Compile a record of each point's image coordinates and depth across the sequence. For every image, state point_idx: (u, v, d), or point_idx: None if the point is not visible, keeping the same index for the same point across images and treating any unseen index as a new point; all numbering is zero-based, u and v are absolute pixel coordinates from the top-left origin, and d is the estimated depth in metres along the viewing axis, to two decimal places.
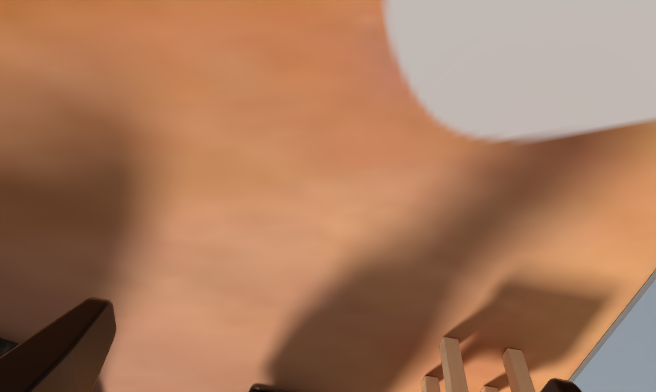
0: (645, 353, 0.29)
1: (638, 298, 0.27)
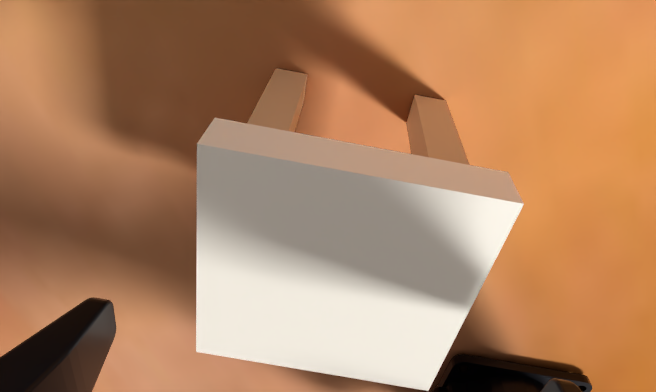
0: None
1: None
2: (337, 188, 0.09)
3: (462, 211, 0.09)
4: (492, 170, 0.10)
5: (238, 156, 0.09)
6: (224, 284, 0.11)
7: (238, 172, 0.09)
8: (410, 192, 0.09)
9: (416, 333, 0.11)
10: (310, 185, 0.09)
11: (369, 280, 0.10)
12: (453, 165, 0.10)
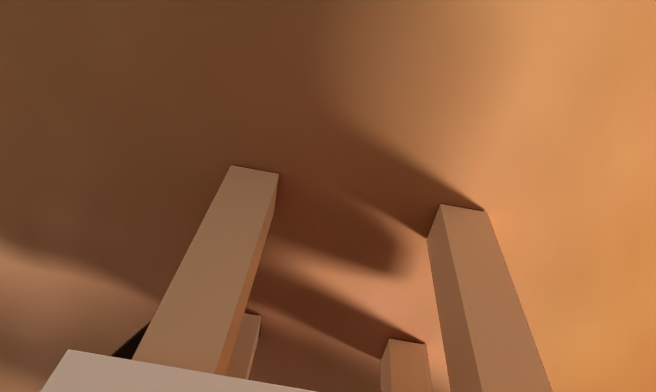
0: None
1: None
2: None
3: None
4: None
5: None
6: None
7: None
8: None
9: None
10: None
11: None
12: None
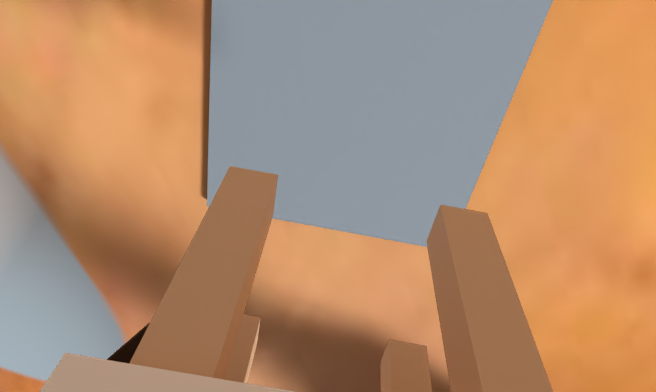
0: (362, 184, 0.21)
1: None
2: None
3: None
4: None
5: None
6: None
7: None
8: None
9: None
10: None
11: None
12: None
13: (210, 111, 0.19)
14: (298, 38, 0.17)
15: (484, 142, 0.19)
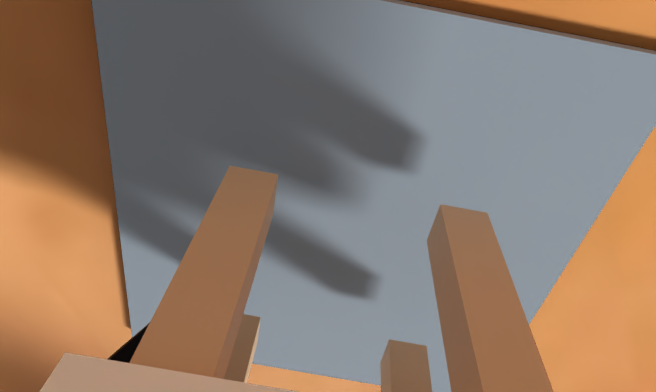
0: (356, 323, 0.14)
1: None
2: None
3: None
4: None
5: None
6: None
7: None
8: None
9: None
10: None
11: None
12: None
13: (121, 228, 0.12)
14: (248, 129, 0.10)
15: (545, 277, 0.12)
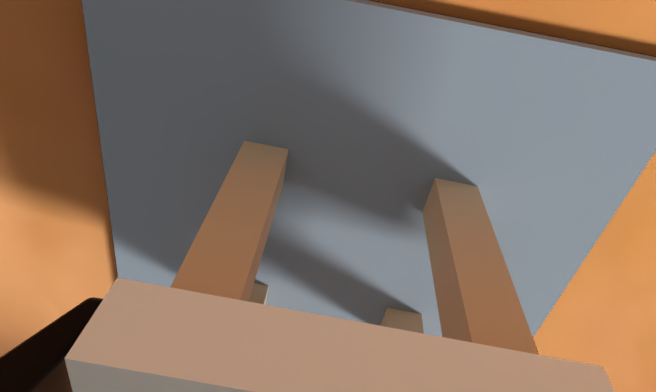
0: None
1: None
2: None
3: None
4: (577, 365, 0.06)
5: (142, 375, 0.05)
6: None
7: None
8: None
9: None
10: None
11: None
12: (514, 360, 0.06)
13: (115, 238, 0.12)
14: (245, 139, 0.10)
15: (550, 289, 0.12)
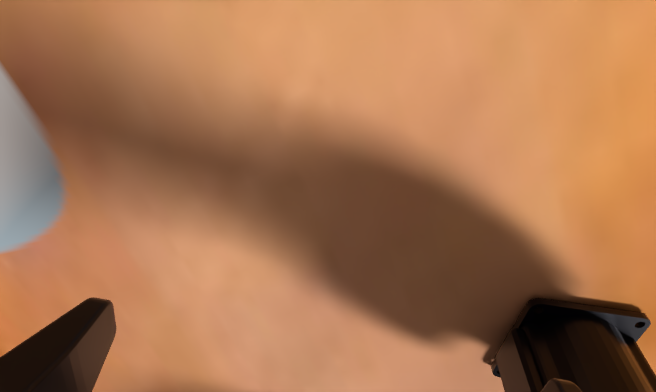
0: None
1: None
2: None
3: None
4: None
5: None
6: None
7: None
8: None
9: None
10: None
11: None
12: None
13: None
14: None
15: None
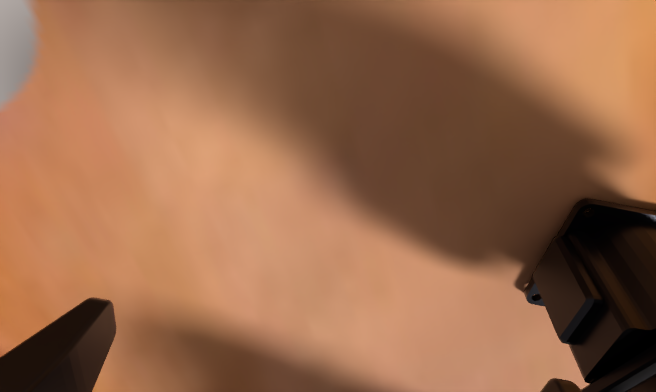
0: None
1: None
2: None
3: None
4: None
5: None
6: None
7: None
8: None
9: None
10: None
11: None
12: None
13: None
14: None
15: None
